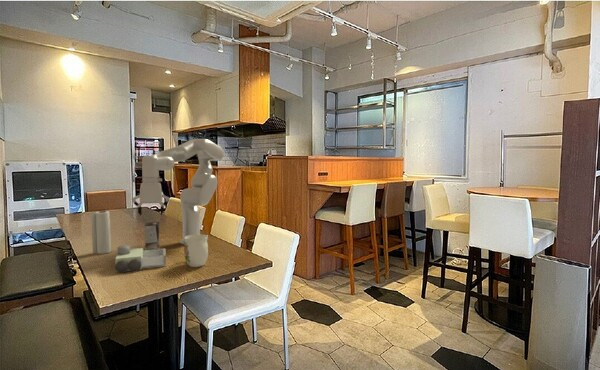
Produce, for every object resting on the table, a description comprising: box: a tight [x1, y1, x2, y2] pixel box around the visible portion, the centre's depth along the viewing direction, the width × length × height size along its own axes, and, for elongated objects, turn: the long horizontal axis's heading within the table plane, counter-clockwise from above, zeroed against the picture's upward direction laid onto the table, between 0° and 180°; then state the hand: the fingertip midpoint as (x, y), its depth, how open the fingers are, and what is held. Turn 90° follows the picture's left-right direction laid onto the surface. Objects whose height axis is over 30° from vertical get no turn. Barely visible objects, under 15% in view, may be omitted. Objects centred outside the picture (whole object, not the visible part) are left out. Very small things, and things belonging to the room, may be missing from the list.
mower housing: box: [114, 244, 144, 274], centre depth 152 cm, size 10×18×9 cm, turn 22°
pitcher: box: [183, 233, 209, 268], centre depth 155 cm, size 11×18×14 cm, turn 36°
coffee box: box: [144, 221, 161, 250], centre depth 169 cm, size 9×6×16 cm
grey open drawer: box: [141, 247, 167, 270], centre depth 156 cm, size 10×13×5 cm
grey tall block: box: [90, 210, 112, 255], centre depth 172 cm, size 7×6×21 cm
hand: (151, 214), depth 167 cm, fingers open, 9 cm apart
